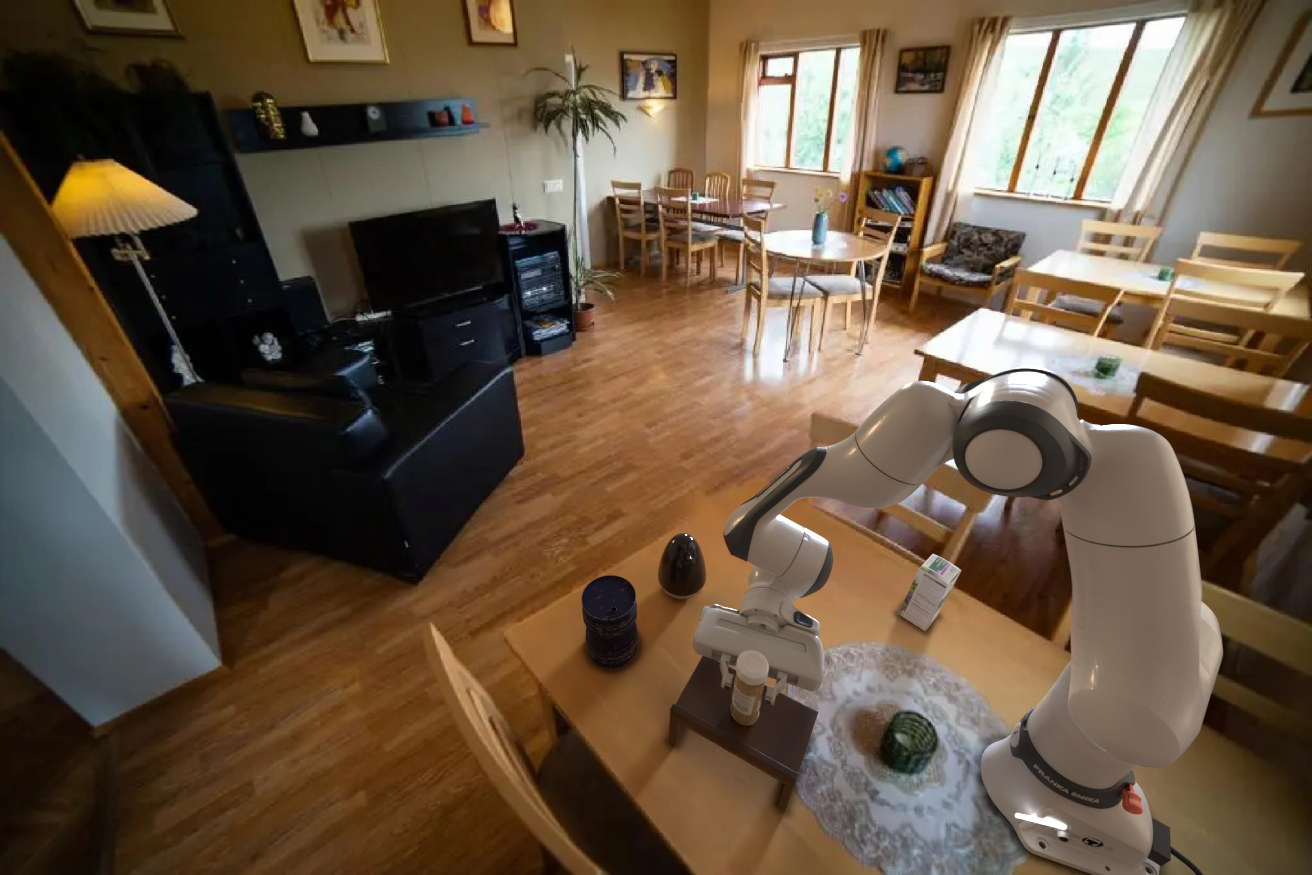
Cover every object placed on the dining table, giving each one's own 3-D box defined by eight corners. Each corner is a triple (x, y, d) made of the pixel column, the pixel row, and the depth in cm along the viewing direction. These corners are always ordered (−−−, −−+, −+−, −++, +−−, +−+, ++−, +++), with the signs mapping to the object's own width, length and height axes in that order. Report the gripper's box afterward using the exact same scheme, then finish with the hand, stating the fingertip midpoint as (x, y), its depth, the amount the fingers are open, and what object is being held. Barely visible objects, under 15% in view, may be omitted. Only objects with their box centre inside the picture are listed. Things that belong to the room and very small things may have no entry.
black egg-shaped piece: (664, 612, 109) (665, 562, 100) (653, 573, 117) (652, 524, 108) (712, 602, 111) (716, 552, 102) (697, 565, 119) (700, 515, 110)
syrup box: (910, 598, 112) (931, 551, 103) (938, 616, 108) (962, 568, 100) (897, 614, 108) (917, 566, 100) (926, 633, 105) (949, 585, 96)
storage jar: (581, 633, 105) (574, 583, 96) (628, 617, 108) (625, 568, 99) (595, 677, 97) (589, 628, 89) (645, 659, 100) (644, 609, 92)
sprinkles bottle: (764, 716, 83) (776, 667, 75) (742, 732, 81) (751, 684, 73) (745, 692, 86) (754, 643, 78) (723, 707, 84) (730, 658, 76)
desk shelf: (809, 739, 88) (820, 706, 82) (785, 811, 80) (796, 780, 74) (701, 682, 97) (704, 647, 90) (669, 741, 88) (670, 708, 82)
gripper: (706, 589, 90) (680, 659, 80) (830, 625, 84) (820, 706, 74) (704, 612, 94) (679, 682, 83) (823, 648, 88) (813, 728, 77)
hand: (747, 694), depth 78 cm, fingers open, 5 cm apart
